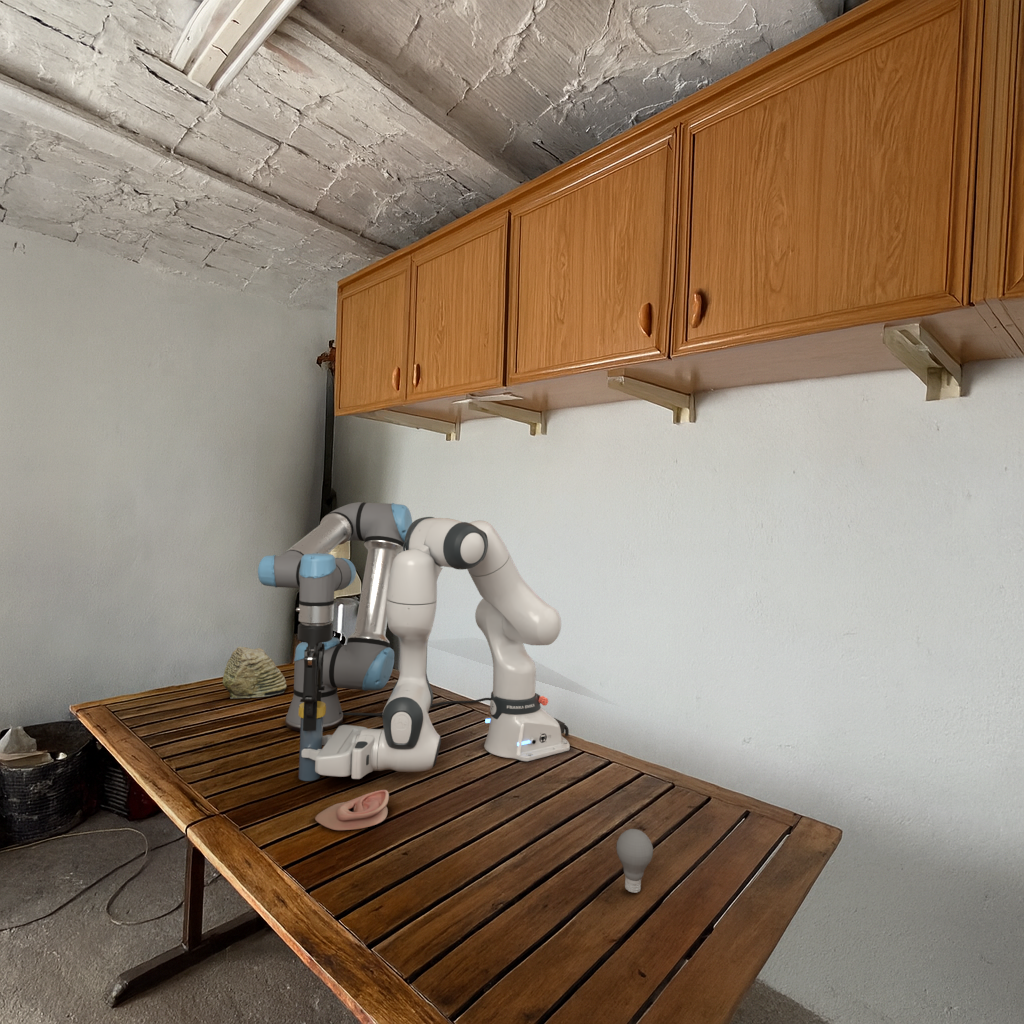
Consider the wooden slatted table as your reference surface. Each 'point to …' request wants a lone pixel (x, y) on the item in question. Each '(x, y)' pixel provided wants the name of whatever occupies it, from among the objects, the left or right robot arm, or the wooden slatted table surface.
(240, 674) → the fossil
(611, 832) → the wooden slatted table surface
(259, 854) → the wooden slatted table surface
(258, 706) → the wooden slatted table surface
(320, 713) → the lid
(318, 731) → the blue-grey cylinder
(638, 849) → the light bulb
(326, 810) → the anatomical model
